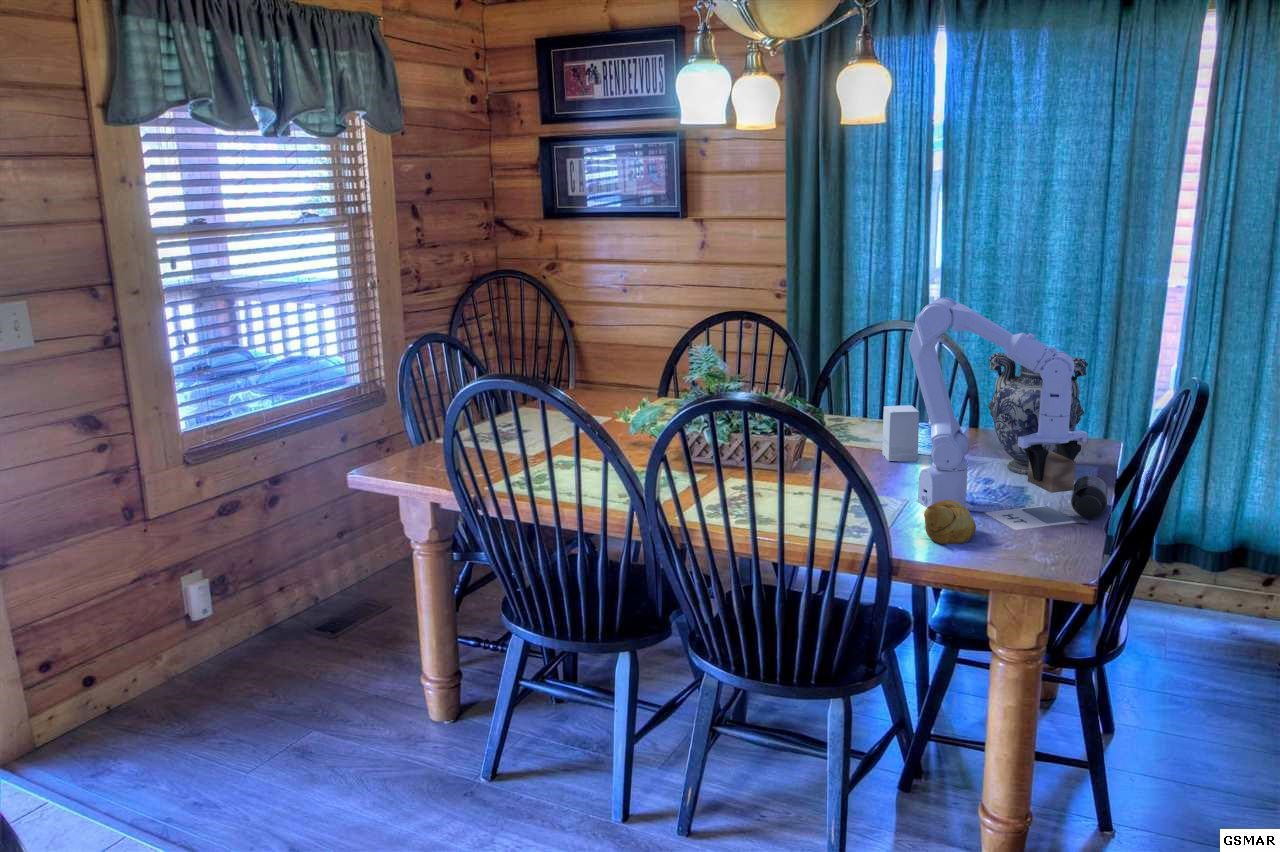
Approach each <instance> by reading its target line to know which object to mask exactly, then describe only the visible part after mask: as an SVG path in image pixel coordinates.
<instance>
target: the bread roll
mask: <svg viewBox="0 0 1280 852" xmlns="http://www.w3.org/2000/svg"><path fill="white" fill-rule="evenodd" d="M923 516H924V526H925V527H924V528H925V532H926V535H927V536H928V538H929V539H930V540H931V541H933V542H935V543H937V544H940V545H947V546H948V544H953V545H954V544H955V545H956V544H958V545H959V544H965V543H966V544H967V542H969V541H970V540H972V539H973V538H974V537H975V536H974V535H975V534H976V532H977V525H976V524H977V523H976V520H975V519H974V517H973V515H972V514H971V512H970V510H969V508H966V507H964V506H963V505H962V504H960V503H959V502H957V501H952V500H945V501H939V502H937V503H935V504H933V505H930V506H929V507H928V508H927V507H926V508H925V510H924V513H923Z"/></svg>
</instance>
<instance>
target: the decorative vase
mask: <svg viewBox="0 0 1280 852" xmlns="http://www.w3.org/2000/svg"><path fill="white" fill-rule="evenodd" d="M1071 358H1072V359H1073V361H1074V372H1073V375H1072V377H1071V383H1072V387H1071V392H1072V395H1071V409H1070V421H1069V431H1076V430H1075V429H1076V426H1077V425H1078V424H1079V423H1080V421H1081V416H1083V415H1084V414H1085V412H1084V410H1083V409H1084V408H1083V407H1082V406H1081V401H1080V399H1079V397H1080V385H1079V382H1078V378H1080V377H1083V376H1086V375H1087V367H1088V365H1089V363H1088V362H1087V361H1086V359H1085V358H1081V357H1079V356H1078V357H1071ZM988 360H989V363H990V366H989V370H991V371H995V372H997V375H998V376H997V378H996V380H995V384H994V393H993V394H992V396H991V401H990V402H989V403H988V404H989V405H988V407H987V408H988V410H989V411H990V412H989V415H990V416H991V418H992V420H993V425H994V430H995V433H996V436H997V439H998V441H999V443H1000V445H1001V447H1002V449H1003V450H1004V451H1005V452H1006V454H1007V455H1009V456H1010V457H1012V459H1013V460H1011V461H1009V462H1008V463H1007V465H1006V466H1007V467H1006V468H1007V470H1008V471H1010V472H1013V473H1015V474H1018V475H1024V474H1025V476H1028V468H1029V459H1028V456H1027V454H1026V452H1025V450H1024V448H1021V447H1019V446H1018V437H1022V436H1027V435H1031V434H1034V433H1038V425H1039V410H1040V396H1041V390H1042V383H1043V380H1042V378H1041V376H1040V373H1034V372H1032V371H1031V370H1029V369H1027V368H1025V367H1024V366H1022V365H1020V368H1021V369H1020V370H1019V373H1020V375H1016V370H1017V367H1016V362H1015V361H1013V360H1011V359H1009V358H1008V357H1007V355H1006V354H1005V353H1004V352H1002V353H1001V352H996V353H992V354H991V356H990V357H989V358H988ZM1002 367H1003V370H1002ZM1035 368H1036V367H1035ZM1034 370H1035V369H1034ZM1034 370H1033V371H1034ZM1042 447H1044V450H1047V451H1052V452H1054V453H1057V447H1056V444H1052V445H1042Z"/></svg>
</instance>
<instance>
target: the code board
mask: <svg viewBox="0 0 1280 852" xmlns="http://www.w3.org/2000/svg"><path fill="white" fill-rule="evenodd" d="M1043 506H1044V505H1039V506H1036V505H1035V506H1030V507H1029V506H1028V507H1022V508H1021V507H1020V508H1014V509H1013V508H1011V509H1003V510H994V511H987V512H984V514H985V515H988V516H989V517H991V518H993V519H994V520H997V521H998V522H1000V523H1002V524H1004V525H1005V526H1008V527H1009V528H1010V529H1013V530H1014V531H1018V530H1019V531H1020V530H1025V529H1026V530H1027V529H1034V528H1043V527H1049V526H1050V527H1051V526H1058V525H1066V524H1067V525H1068V524H1075V523H1077V521H1076V520H1073V521H1065V522H1056V523H1048V524H1047V523H1045V522H1043V521H1041V520H1039V519H1037V518H1036V517H1034V516H1032V515H1030V514H1028V513H1026V512H1024V511H1022V509H1026V508H1034V507H1043Z"/></svg>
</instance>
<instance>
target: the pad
mask: <svg viewBox="0 0 1280 852" xmlns="http://www.w3.org/2000/svg"><path fill="white" fill-rule="evenodd" d="M1042 506H1043V507H1036V506H1033V507H1034V508H1028V507H1025V508H1026V509H1022V511H1024V512H1026V513H1028V514H1030V515H1032V516H1034V517H1036V518H1037V519H1039V520H1041V521H1043V522H1045V523H1047V524H1048V523H1056V522H1065V521H1073V520H1074V518H1072V517H1071V516H1068V515H1066V514H1065V513H1062V512H1061V511H1058V510H1057V509H1055V508H1052V507H1051V506H1049V505H1042ZM1074 521H1075V520H1074Z"/></svg>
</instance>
